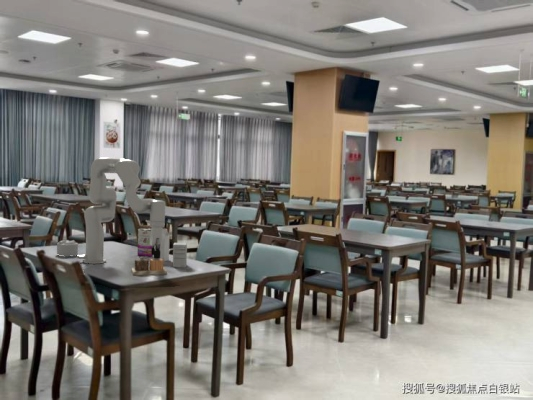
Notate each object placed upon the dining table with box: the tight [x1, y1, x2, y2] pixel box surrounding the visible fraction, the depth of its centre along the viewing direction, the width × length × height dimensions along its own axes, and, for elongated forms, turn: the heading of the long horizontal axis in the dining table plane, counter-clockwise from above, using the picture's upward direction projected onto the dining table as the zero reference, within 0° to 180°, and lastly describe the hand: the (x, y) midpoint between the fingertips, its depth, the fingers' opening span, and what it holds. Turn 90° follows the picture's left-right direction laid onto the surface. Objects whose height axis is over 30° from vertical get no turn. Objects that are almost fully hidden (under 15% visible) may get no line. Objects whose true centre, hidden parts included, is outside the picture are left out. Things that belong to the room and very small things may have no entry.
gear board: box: [130, 256, 168, 276], centre depth 276 cm, size 17×11×8 cm, turn 109°
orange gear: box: [148, 258, 164, 271], centre depth 277 cm, size 7×7×5 cm
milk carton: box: [152, 227, 170, 263], centre depth 310 cm, size 7×7×19 cm
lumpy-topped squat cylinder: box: [56, 239, 79, 256], centre depth 318 cm, size 10×13×9 cm
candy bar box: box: [137, 228, 153, 258], centre depth 326 cm, size 11×5×16 cm, turn 68°
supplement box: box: [172, 242, 188, 268], centre depth 296 cm, size 7×7×13 cm
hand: (155, 256), depth 277 cm, fingers open, 9 cm apart
